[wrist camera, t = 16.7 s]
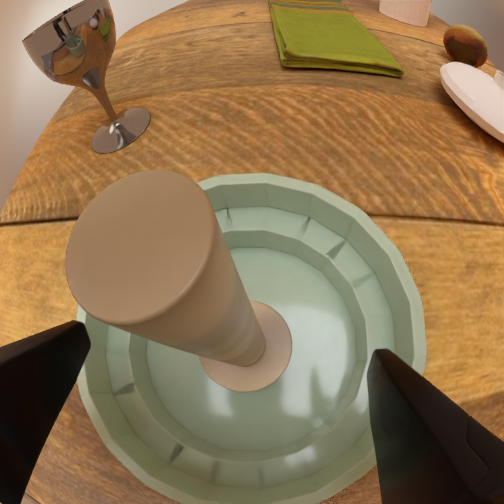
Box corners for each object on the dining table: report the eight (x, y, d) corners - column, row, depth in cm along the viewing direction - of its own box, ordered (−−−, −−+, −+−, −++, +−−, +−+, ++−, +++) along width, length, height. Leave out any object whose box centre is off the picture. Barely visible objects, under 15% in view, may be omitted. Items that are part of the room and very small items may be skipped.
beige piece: (303, 374, 14) (401, 365, 2) (218, 400, 14) (26, 442, 2) (275, 295, 16) (255, 83, 4) (195, 320, 16) (28, 177, 4)
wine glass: (132, 155, 23) (60, 18, 10) (76, 157, 25) (6, 52, 11) (166, 103, 26) (123, -17, 13) (111, 109, 28) (62, 11, 14)
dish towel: (338, 5, 41) (339, -7, 38) (404, 80, 26) (410, 59, 23) (268, 3, 42) (266, -9, 39) (279, 71, 27) (278, 48, 24)
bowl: (333, 506, 11) (350, 545, 6) (91, 408, 14) (40, 408, 10) (407, 260, 17) (441, 221, 12) (182, 199, 20) (159, 153, 16)
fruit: (486, 82, 27) (499, 46, 20) (445, 64, 28) (456, 25, 21) (471, 63, 30) (482, 30, 23) (434, 47, 31) (442, 12, 24)
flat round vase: (445, 132, 22) (469, 79, 15) (425, 67, 27) (435, 28, 21) (543, 182, 18) (571, 146, 12) (509, 107, 24) (525, 75, 18)
